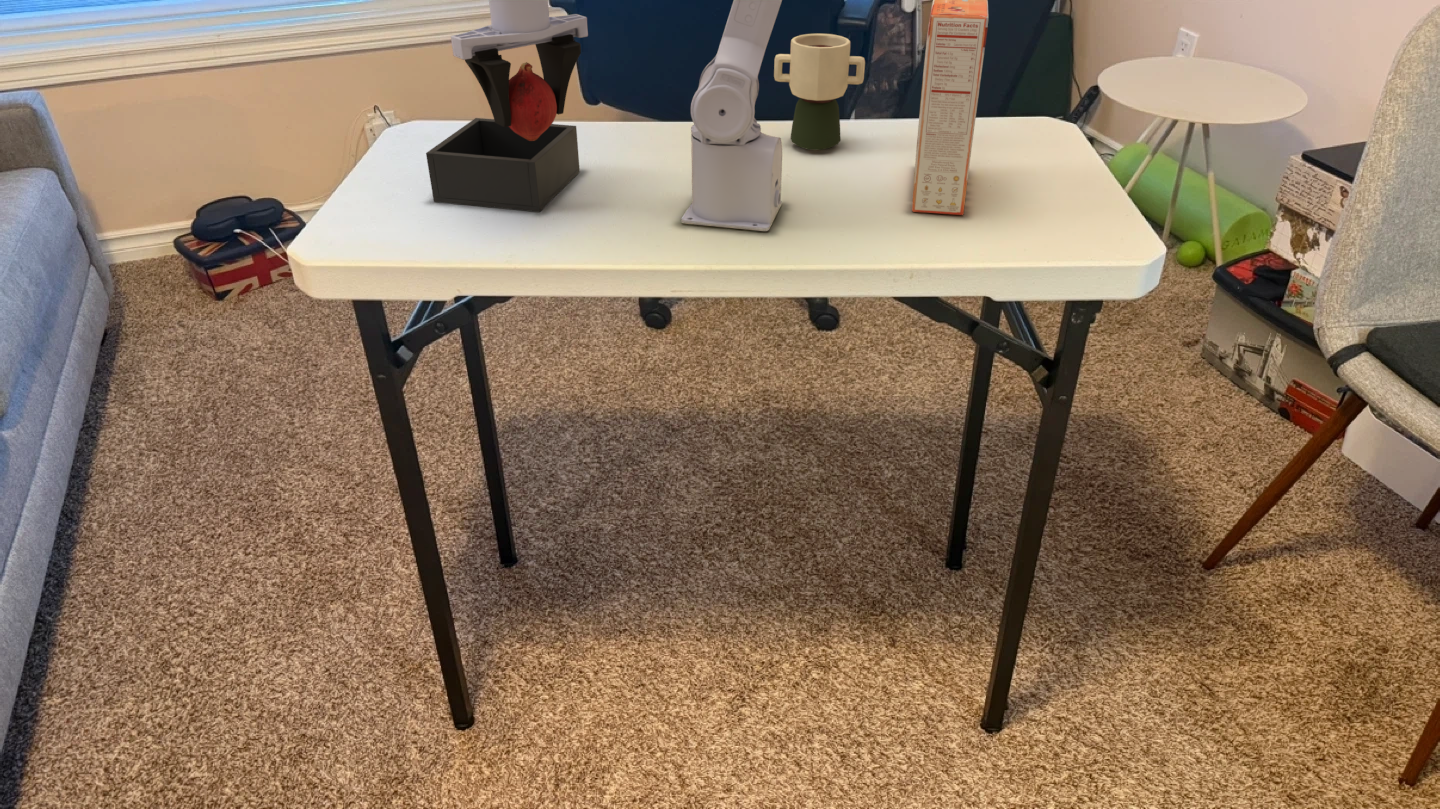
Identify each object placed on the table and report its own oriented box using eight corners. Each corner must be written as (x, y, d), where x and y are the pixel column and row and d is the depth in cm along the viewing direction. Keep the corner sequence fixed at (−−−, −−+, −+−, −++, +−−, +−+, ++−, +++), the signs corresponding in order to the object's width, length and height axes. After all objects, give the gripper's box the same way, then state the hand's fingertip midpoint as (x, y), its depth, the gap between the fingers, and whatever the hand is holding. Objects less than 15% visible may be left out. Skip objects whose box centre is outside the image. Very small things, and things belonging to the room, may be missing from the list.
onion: (548, 151, 104) (541, 72, 100) (495, 147, 105) (486, 69, 101) (566, 133, 109) (560, 57, 105) (515, 130, 110) (507, 54, 106)
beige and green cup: (858, 138, 131) (866, 34, 124) (858, 157, 125) (866, 49, 118) (774, 135, 132) (777, 31, 125) (769, 154, 126) (773, 46, 119)
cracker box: (913, 168, 122) (934, -17, 110) (965, 172, 121) (991, -15, 109) (907, 213, 110) (928, 11, 99) (963, 217, 109) (992, 14, 98)
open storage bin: (579, 172, 120) (576, 125, 117) (539, 212, 110) (534, 162, 107) (481, 163, 123) (475, 117, 120) (433, 201, 113) (425, 152, 110)
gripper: (556, -36, 105) (566, 96, 112) (428, -18, 97) (448, 122, 104) (596, -26, 100) (604, 110, 108) (465, -7, 92) (483, 139, 100)
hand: (530, 117), depth 106 cm, fingers closed on onion, 6 cm apart
